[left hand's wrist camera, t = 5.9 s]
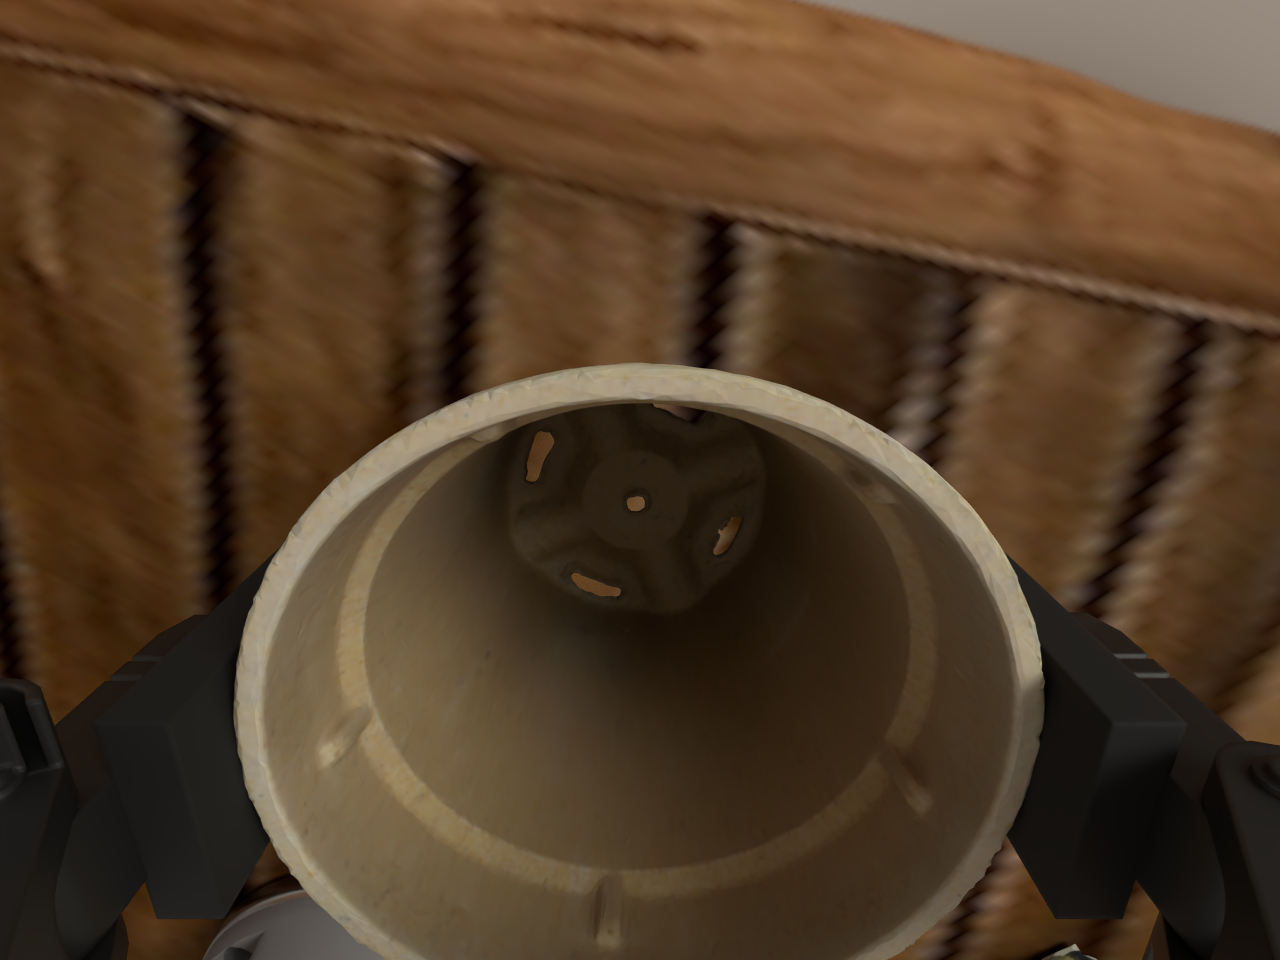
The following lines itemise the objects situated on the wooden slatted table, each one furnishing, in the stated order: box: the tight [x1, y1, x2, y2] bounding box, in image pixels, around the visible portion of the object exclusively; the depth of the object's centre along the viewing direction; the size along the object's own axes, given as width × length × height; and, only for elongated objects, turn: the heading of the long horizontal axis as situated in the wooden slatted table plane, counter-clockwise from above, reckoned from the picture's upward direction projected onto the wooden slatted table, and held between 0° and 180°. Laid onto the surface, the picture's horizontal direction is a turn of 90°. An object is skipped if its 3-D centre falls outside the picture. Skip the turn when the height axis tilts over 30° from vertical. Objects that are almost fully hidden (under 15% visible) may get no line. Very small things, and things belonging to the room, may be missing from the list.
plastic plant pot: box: [233, 363, 1045, 960], centre depth 12 cm, size 9×9×9 cm
